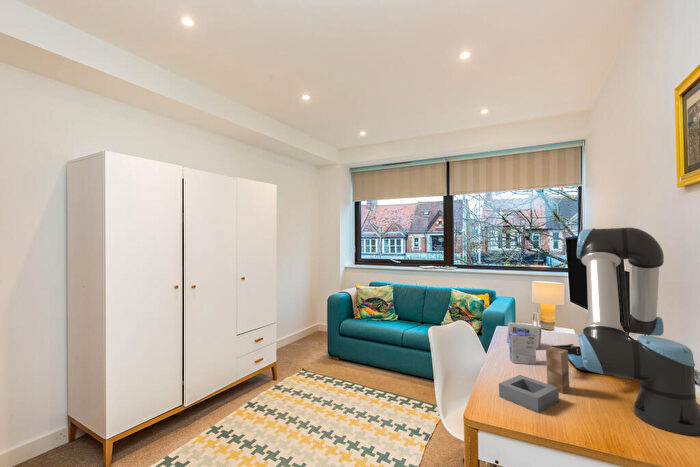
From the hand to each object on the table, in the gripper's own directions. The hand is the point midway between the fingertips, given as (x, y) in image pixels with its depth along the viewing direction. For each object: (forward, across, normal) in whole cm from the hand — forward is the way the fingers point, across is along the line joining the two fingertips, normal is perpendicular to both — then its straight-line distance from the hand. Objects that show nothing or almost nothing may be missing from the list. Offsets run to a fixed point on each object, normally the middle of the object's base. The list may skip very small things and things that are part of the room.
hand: (570, 360), depth 122 cm
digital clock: (-29, +34, -9) cm, 46 cm away
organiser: (+26, +2, -8) cm, 27 cm away
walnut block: (+10, 0, -8) cm, 13 cm away
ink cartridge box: (-6, +22, -9) cm, 24 cm away
